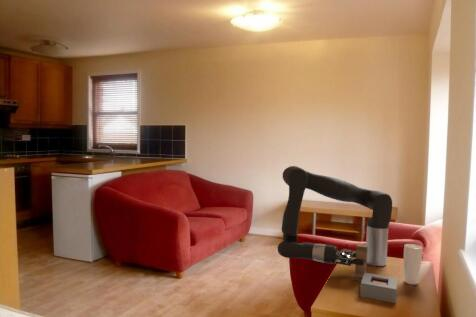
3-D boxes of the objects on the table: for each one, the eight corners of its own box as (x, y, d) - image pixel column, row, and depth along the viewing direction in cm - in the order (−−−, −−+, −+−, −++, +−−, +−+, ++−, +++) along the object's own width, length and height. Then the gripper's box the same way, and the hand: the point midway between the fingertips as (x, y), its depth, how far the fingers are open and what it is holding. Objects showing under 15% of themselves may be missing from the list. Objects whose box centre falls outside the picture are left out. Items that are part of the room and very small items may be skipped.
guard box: (363, 284, 151) (364, 272, 151) (396, 290, 147) (397, 278, 146) (360, 296, 140) (360, 282, 140) (395, 303, 136) (396, 289, 135)
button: (372, 284, 147) (373, 280, 146) (386, 287, 145) (386, 282, 144) (371, 289, 142) (372, 284, 142) (385, 291, 140) (385, 287, 140)
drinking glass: (419, 287, 151) (421, 249, 150) (400, 283, 154) (402, 246, 153) (421, 281, 157) (423, 245, 156) (403, 278, 160) (405, 242, 159)
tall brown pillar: (355, 276, 160) (357, 243, 159) (365, 278, 159) (367, 244, 158) (354, 279, 157) (356, 245, 156) (364, 281, 155) (366, 247, 154)
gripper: (321, 249, 156) (363, 255, 150) (328, 240, 169) (367, 246, 163) (320, 267, 157) (362, 274, 150) (327, 257, 170) (366, 263, 163)
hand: (364, 259), depth 157 cm, fingers open, 8 cm apart
